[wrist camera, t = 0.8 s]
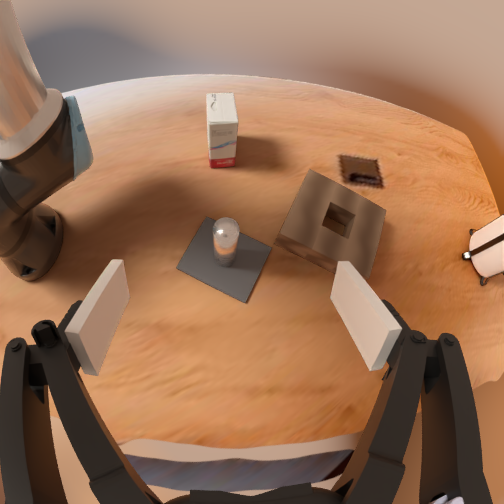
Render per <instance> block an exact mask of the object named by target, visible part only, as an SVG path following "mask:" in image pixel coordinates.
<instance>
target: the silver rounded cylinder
mask: <svg viewBox="0 0 504 504" xmlns="http://www.w3.org/2000/svg"><path fill="white" fill-rule="evenodd" d="M239 231H240V228H239V225H238V223H237V222H236V221H235V220H234V219H232V218H228V217H224V218H220V219H219V220H217V221H216V222H215V224H214V226H213V241H214V258H215V262H216V263H217V265H219V266H220V267H229V266H231V265H232V264H233V263H234V260H235V255H236V249H237V243H238V237H239Z"/></svg>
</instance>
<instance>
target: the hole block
mask: <svg viewBox="0 0 504 504" xmlns="http://www.w3.org/2000/svg"><path fill="white" fill-rule="evenodd" d="M385 214H386V210H385V209H383V208H382V207H380V206H378V205H376V204H375V203H373V202H371V201H370V200H368V199H366V198H364V197H363V196H361V195H359V194H357V193H355V192H353V191H352V190H350V189H348V188H346V187H344V186H342V185H340V184H339V183H337V182H335V181H333V180H331V179H329V178H327V177H325V176H323V175H321V174H319V173H317V172H315V171H313V170H311V169H309V171H308V173H307V175H306V177H305V179H304V181H303V183H302V185H301V187H300V189H299V192H298V194H297V196H296V198H295V200H294V202H293V204H292V206H291V209H290V211H289V213H288V215H287V217H286V219H285V221H284V223H283V226H282V228H281V230H280V232H279V234H278V236H277V238H276V240H275V242H274V244H276V245H278V246H280V247H282V248H284V249H286V250H288V251H290V252H292V253H294V254H296V255H298V256H300V257H302V258H304V259H306V260H308V261H310V262H312V263H315V264H317V265H319V266H321V267H323V268H325V269H327V270H329V271H331V272H333V273H335V274H336V270H337V265H338V261H349V262H350V263H351V264H352V265H353V266H354V268H355V269H356V270H357V271H358V272H359V274H360V275H361V276H362V277H363V279H364V280H367V279H369V277H370V274H371V270H372V267H373V263H374V260H375V256H376V252H377V248H378V244H379V240H380V236H381V232H382V228H383V223H384V219H385ZM325 216H327V217H329V218H331V219H333V220H335V221H337V222H339V223H341V224H343V225H344V226H345V229H344V232H343V235H342V236H341V235H339V234H337V233H336V232H334V231H332V230H330V229H328V228H326V227H324V226H322V223H323V220H324V217H325Z"/></svg>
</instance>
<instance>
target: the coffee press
mask: <svg viewBox="0 0 504 504" xmlns="http://www.w3.org/2000/svg"><path fill="white" fill-rule="evenodd" d="M473 230H475V229H470V234H471V235H472V236H471V239H470V244H469V249H470V251H469V252H466V253H463V254H462V257H463V260H466V259H472V262H473V265H474V267H475V269H476V270H477V272H478V273H479V274H480V275H481V276H482V278H481V281H480V284H481V285H482V286H483V285H486V284H487V282H488V280H489V279H490V278H492V277H495V276H497V275H500V274H502V273H503V275H504V214H503V215H501V216H500V217H498V218H496V219H495V220H493V221H492V222H490V223H489V224H487V225H485V226H484V227H482V228H480V229H479V230H475V231H476V232H475V233H474V234H473V233H472V231H473ZM485 277H486V278H487V279H486V281H485V283H484V284H483V280H484V278H485Z"/></svg>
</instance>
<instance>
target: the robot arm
mask: <svg viewBox="0 0 504 504" xmlns="http://www.w3.org/2000/svg"><path fill="white" fill-rule="evenodd" d="M92 162H93V153H92V150H91V146H90V143H89V140H88V137H87V134H86V131H85V128H84V124H83V121H82V117H81V114H80V110H79V107H78V104H77V101H76V98H75V97H74V96H70V97H66V98H65V99H64V98H63V96H62V94H61V93H60V92H59V91H58V90H56V89H46V88H45V86H44V84H43V82H42V80H41V78H40V76H39V74H38V71H37V69H36V67H35V65H34V62H33V60H32V58H31V55H30V53H29V51H28V48H27V46H26V43H25V40H24V38H23V35H22V33H21V30H20V27H19V24H18V21H17V18H16V15H15V12H14V9H13V6H12V3H11V0H0V258H1V260H2V261H3V262H4V264H5V265H6V266H7V267H8V269H9V270H10V271H11V272H12V273H13V274H14V275H15V276H17V277H19V278H21V279H23V280H27V281H32V280H36V279H38V278H40V277H42V276H43V275H44V274H45V273H46V272H47V271H48V270H49V269H50V268H51V267H52V265H53V264H54V262H55V260H56V258H57V256H58V254H59V252H60V249H61V245H62V239H63V226H62V222H61V219H60V217H59V215H58V214H57V213H56V212H55V211H54V210H53V209H52V208H51V207H50V206H48V205H46V204H43V203H41V202H42V201H44V200H45V199H47V198H48V197H49V196H51V195H52V194H54V193H55V192H56V191H58V190H59V189H61V188H62V187H64V186H65V185H67V184H68V183H70V182H71V181H74V180H75V179H76V177H78V176H79V175H80V174H82V173H83V172H84V171H86V170H87V169H89V167H90V166H91V165H92ZM129 299H130V294H129V289H128V284H127V279H126V273H125V268H124V262H123V260H120V259H112V260H111V261H110V263H109V264H108V266H107V267H106V268H105V270H104V271H103V273H102V274H101V275H100V277H99V278H98V280H97V281H96V283H95V284H94V286H93V287H92V289H91V290H90V291H89V293H88V294H87V296H86V298H85V299H84V301H80V300H78V301H77V302H76V303H74V304H73V305H72V306H71V307H70V309H69V310H68V313H66V315H65V316H64V318H63V320H62V321H61V323H60V324H59V326H58V327H57V328H56V325H55V323H54V322H53V321H51V320H43V321H40V322H38V323H37V324H35V325H34V326H33V328H32V331H31V334H32V336H33V338H34V340H35V342H36V345H27V343H26V341H25V340H24V339H23V338H14V339H12V340H11V341H10V342H9V343H8V344H7V346H6V349H5V355H4V361H3V368H2V376H1V385H0V465H1V473H2V481H3V486H4V493H5V504H68V502H67V499H66V496H65V492H64V489H63V485H62V481H61V477H60V474H59V469H58V464H57V460H56V455H55V449H54V443H53V437H52V429H51V421H50V411H49V398H48V385H49V389H50V392H51V395H52V398H53V400H54V403H55V406H56V409H57V411H58V414H59V417H60V419H61V421H62V424H63V426H64V429H65V431H66V433H67V435H68V438H69V440H70V442H71V444H72V447H73V448H74V451H75V453H76V455H77V457H78V459H79V461H80V462H81V464H82V466H83V468H84V470H85V472H86V473H87V475H88V477H89V479H90V482H89V485H90V488H91V490H92V492H93V493H94V495H95V496H96V498H97V500H98V501H99V503H100V504H163V503H162V502H161V500H160V499H159V498H158V497H157V496H156V495H155V494H154V493H153V492H152V491H151V490H150V488H149V487H148V486H147V485H146V484H145V482H144V481H143V480H142V479H141V477H140V476H139V475H138V473H137V472H136V471H135V469H134V468H133V467H132V465H131V464H130V462H129V461H128V460H127V458H126V457H125V455H124V454H123V453H122V451H121V449H120V448H119V446H118V445H117V443H116V442H115V440H114V438H113V437H112V435H111V434H110V432H109V430H108V429H107V427H106V425H105V423H104V422H103V420H102V418H101V416H100V415H99V413H98V411H97V409H96V407H95V405H94V403H93V401H92V399H91V397H90V395H89V393H88V391H87V389H86V387H85V385H84V383H83V381H82V379H81V376H80V374H79V373H78V371H79V369H80V366H81V367H82V369H83V371H84V373H85V374H89V375H95V376H98V375H99V372H100V369H101V367H102V364H103V361H104V359H105V356H106V353H107V351H108V348H109V346H110V343H111V341H112V339H113V336H114V334H115V331H116V329H117V327H118V324H119V322H120V320H121V317H122V315H123V313H124V310H125V308H126V306H127V304H128V302H129ZM330 299H331V300H332V302H333V304H334V306H335V308H336V309H337V311H338V313H339V315H340V316H341V318H342V320H343V322H344V324H345V326H346V327H347V329H348V331H349V333H350V335H351V337H352V338H353V340H354V342H355V344H356V346H357V348H358V350H359V352H360V353H361V355H362V357H363V359H364V361H365V363H366V365H367V367H368V369H369V371H374V370H379V369H382V368H383V366H384V364H385V363H386V361H387V362H388V364H389V368H388V370H387V371H386V373H385V375H384V377H383V378H382V380H384V381H383V384H382V387H381V390H380V392H379V395H378V398H377V401H376V403H375V406H374V408H373V411H372V413H371V416H370V418H369V420H368V423H367V425H366V427H365V430H364V432H363V434H362V436H361V439H360V441H359V443H358V445H357V447H356V449H355V451H354V453H353V455H352V457H351V459H350V461H349V463H348V465H347V467H346V469H345V470H344V472H343V474H342V476H341V477H340V479H339V480H338V481H337V482H336V483H335V485H334V486H333V488H332V489H331V491H330V490H327V489H323V488H317V487H311V482H309V483H304V484H298V485H292V486H285V487H280V488H277V489H274V490H271V491H269V492H265V493H262V494H259V495H255V496H246V495H240V494H234V493H228V492H223V491H204V490H190V494H189V495H184V496H180V497H177V498H175V499H172V500H170V501H168V502H166V503H165V504H392V502H393V500H394V497H395V495H396V493H397V490H398V488H399V485H400V483H401V480H402V477H403V475H404V471H405V465H404V464H402V460H403V457H404V454H405V451H406V448H407V445H408V442H409V438H410V435H411V431H412V427H413V424H414V420H415V416H416V412H417V408H418V403H419V398H420V394H421V407H422V465H421V479H420V493H419V503H420V504H493V503H492V499H491V496H490V492H489V489H488V486H487V483H486V479H485V476H484V473H483V465H482V450H481V440H480V432H479V425H478V419H477V412H476V407H475V402H474V397H473V392H472V387H471V383H470V379H469V375H468V371H467V367H466V364H465V360H464V357H463V353H462V350H461V347H460V344H459V341H458V339H457V338H456V337H455V336H454V335H452V334H449V333H442V334H441V335H440V336H439V338H438V340H428V339H427V337H426V336H425V335H424V334H423V333H421V332H419V331H415V330H411V329H410V328H409V326H408V325H407V324H406V322H405V321H404V320H403V319H402V317H401V316H399V313H398V312H397V311H396V310H395V308H394V307H393V306H392V305H391V304H390V303H389V302H387V301H386V300H380V299H379V297H378V296H377V295H376V294H375V292H374V291H373V290H372V288H371V287H370V286H369V285H368V284H367V282H366V281H365V280H364V279H363V277H362V276H361V275H360V274H359V272H358V271H357V270H356V269H355V268H354V266H353V265H352V264H351V263H350V262H349V261H338V265H337V270H336V274H335V279H334V283H333V287H332V291H331V296H330Z"/></svg>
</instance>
